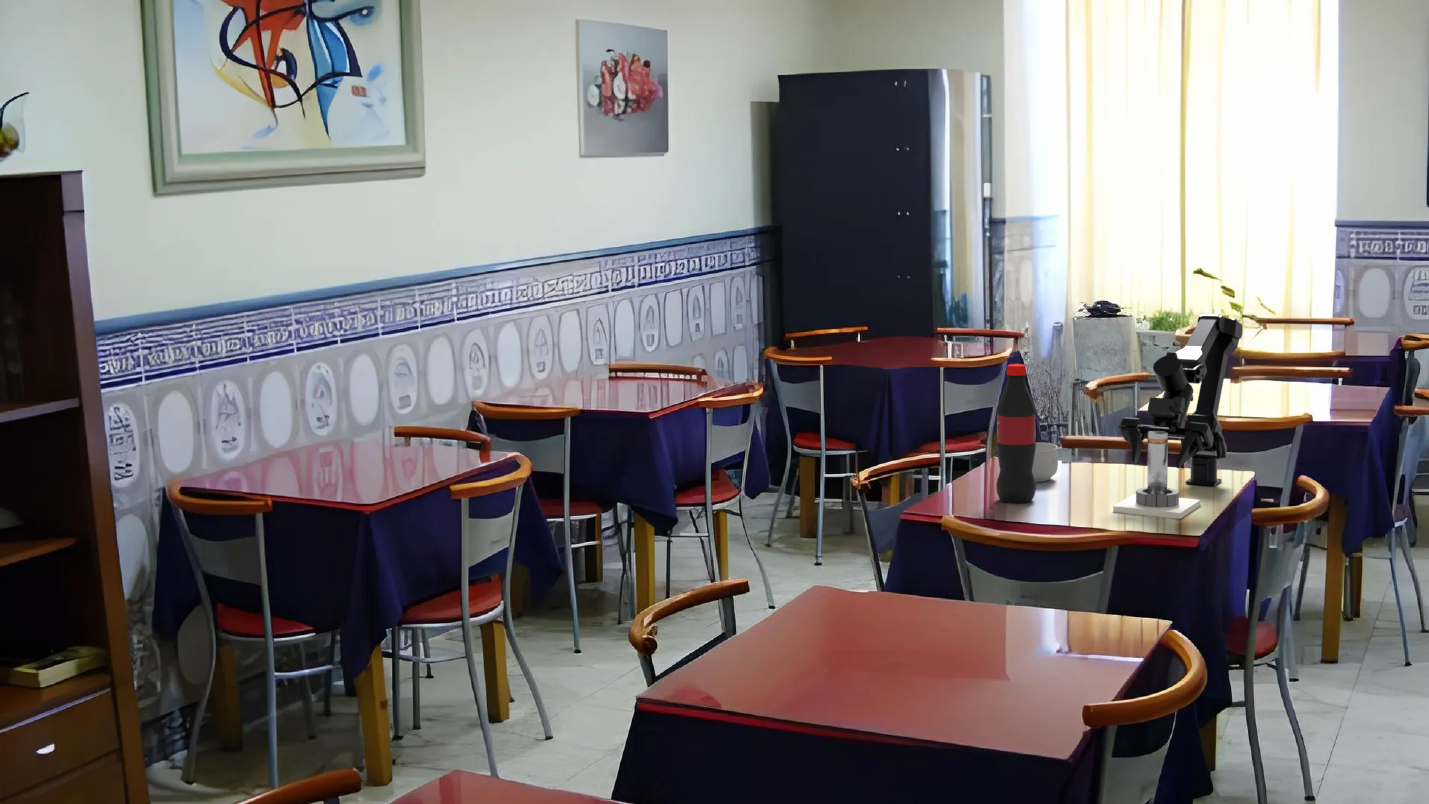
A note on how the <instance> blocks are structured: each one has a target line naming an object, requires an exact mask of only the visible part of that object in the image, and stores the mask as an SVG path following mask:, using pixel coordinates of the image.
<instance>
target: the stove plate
mask: <svg viewBox="0 0 1429 804" xmlns="http://www.w3.org/2000/svg"><path fill="white" fill-rule="evenodd" d="M1201 503H1202V501H1201V499H1195V498H1186V497H1180V492H1179V491H1178V490H1177V489H1173V488H1171V487H1170V488H1168V487H1167V494H1148V493H1147V487H1140V488H1138V489H1136V490H1135V493H1134V494H1131V495H1130V496H1128V497H1127V498H1125V499H1123V500H1122V501H1120V502H1118V503H1116V504H1115V505H1113V506H1112V509H1113V511H1112V513H1121V514H1129V515H1130V514H1131V515H1138V516H1139V515H1140V516H1149V517H1159V518H1160V517H1161V518H1168V519H1169V518H1171V519H1179V520H1181V519H1182V518H1184V517H1186V516H1187V515H1188V514H1189V513H1192V512H1193V511H1194V510H1196V509H1198V508H1199V507H1200V506H1201V505H1202V504H1201Z"/></svg>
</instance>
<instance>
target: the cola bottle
mask: <svg viewBox="0 0 1429 804" xmlns="http://www.w3.org/2000/svg"><path fill="white" fill-rule="evenodd" d="M1026 369H1027V368H1026V365H1025V364H1021V363H1011V364H1008V365H1007V367H1006V374H1005V375H1006V377H1007V382H1006V386H1005V388H1004V390H1003V392H1002V394H1001V396H1000V398H999V401H998V404H997V406H996V410H995V411H996V452H997V459H998V464H999V465H998V466H999V474H998V475H997V476H998V477H997V480H996V483H995V484H996V486H995V487H996V493H997V496H998V498H999V500H1000V501H1002V502H1004V503H1009V504H1027V503H1029V502H1031V501H1032V500H1033V499H1034V498H1035V494H1036V490H1037V484H1036V483H1037V482H1035V479H1034V476H1033V472H1032V468H1033V462H1034V456H1035V449H1036V443H1037V442H1036V413H1037V409H1036V405H1035V403H1034V400H1033V398H1032V396H1031V394H1030V391H1029V389H1028V386H1027V384H1026V379H1025V377H1026V376H1027V370H1026Z"/></svg>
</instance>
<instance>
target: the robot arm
mask: <svg viewBox="0 0 1429 804" xmlns="http://www.w3.org/2000/svg"><path fill="white" fill-rule="evenodd" d="M1243 331H1244V330H1243V324H1242V323H1241V322H1239V321H1238V319H1237V318H1228V317H1225V316H1223V315H1220V314H1212V313H1210V314H1209V313H1208V314H1207V313H1203V314H1200V315H1199V316H1198V318H1197V324H1196V326H1195V327H1194V329H1193V331H1192V333H1191V334H1190V337H1189V339H1188V341H1187V342H1186V344H1185V346H1184V348H1181V349H1179V350H1177V351H1167V352H1166V355H1163V356H1162V357H1160V358H1158V359H1156V361H1155V362H1153V365H1152V368H1153V372H1154V374H1155V375H1154V376H1155V377H1156V380H1157V383H1158V385H1159V388H1160V389H1161V390H1163V391H1164V393H1163V395H1162V397H1149V399H1148V401H1149V402H1148V405H1147V410H1146V411H1147V414H1150V415H1151V416H1150V417H1149V420H1150V422H1152V423H1153V425H1151V424H1143V422H1142V419H1141V418H1140V417H1139V418H1138V417H1128V416H1127V417H1126V416H1125V417H1123V418H1121V419H1120V421H1119V424H1118V428H1119V431H1120V432H1121V435H1122V437H1123V440H1124V441H1126V442H1127V443H1129V445H1130V446H1131V455H1132V456H1131V457H1132V464H1133V465H1136V464H1137V462H1138V460H1139V458H1140V455H1141V452H1142V451H1143V447H1144V442H1143V441H1145V437H1146V435H1147V436H1148V432H1150V431H1165V432H1168V438H1172V439H1173V438H1175V439H1180V446H1181V447H1180V451H1179V454H1178V456H1177V459H1176V463H1175V464H1176V465H1175V467H1176V469H1180V468H1181V467H1182V466H1183V465H1184V464H1185V463H1186V462H1187V461H1189V460H1190V478H1188V479H1187V480H1185V482H1184V483H1185V484H1188V485H1199V486H1200V485H1201V486H1210V487H1215V486H1216V485H1218V484H1219V483H1221V482H1222V480H1223V479H1222V478H1218V460H1221V459H1226V458H1227V453H1228V451H1227V449H1228V446H1227V443H1226V440H1225V438H1224V434H1223V428H1222V426H1221V424H1220V421H1219V419H1218V412H1219V408H1220V407H1219V406H1220V402H1221V395H1222V391H1223V385H1224V380H1225V375H1226V369H1227V366H1228V365H1227V364H1228V358H1229V357H1231V355H1233V353H1234V352H1235V351H1236V350H1237V349H1238V346H1239V342H1240V340H1241V339H1242V337H1243V333H1244V332H1243ZM1191 384H1196V385H1198V384H1200V386H1199V387H1200V388H1199V393H1198V399H1197V403H1196V407H1195V411H1194V412H1193V413H1192V414H1191V413H1190V414H1187V413H1188V411H1189V407H1190V405H1191V402H1193V401H1194V395H1193V394H1194V388H1193V385H1191Z"/></svg>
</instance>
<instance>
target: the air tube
mask: <svg viewBox="0 0 1429 804" xmlns="http://www.w3.org/2000/svg"><path fill="white" fill-rule="evenodd" d="M1168 447H1169V437H1168V432H1165V431H1150V432H1148V435H1147V485H1146V486H1147V493H1148V494H1167V488H1168V471H1169V470H1168V469H1169V468H1168V464H1169V463H1168V461H1169V460H1168V459H1169V457H1168V454H1169V451H1168V450H1169V449H1168Z"/></svg>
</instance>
